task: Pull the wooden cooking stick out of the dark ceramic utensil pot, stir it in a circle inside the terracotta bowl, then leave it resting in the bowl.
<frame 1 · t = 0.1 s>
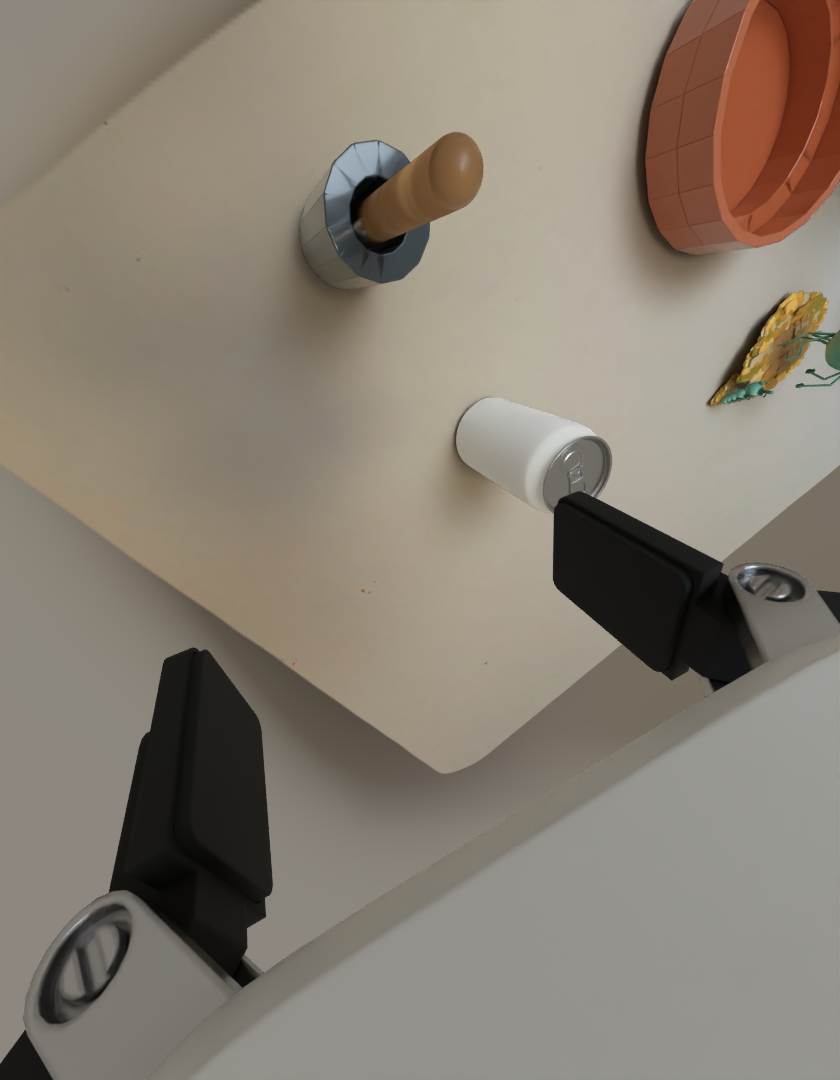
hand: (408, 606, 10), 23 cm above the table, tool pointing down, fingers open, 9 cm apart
insect on leaf figurine: (765, 345, 45), on the table
can: (484, 432, 36), on the table
bowl: (718, 126, 31), on the table
stick: (344, 238, 24), point 1 cm above the table, touching utensil pot
utensil pot: (341, 240, 25), on the table
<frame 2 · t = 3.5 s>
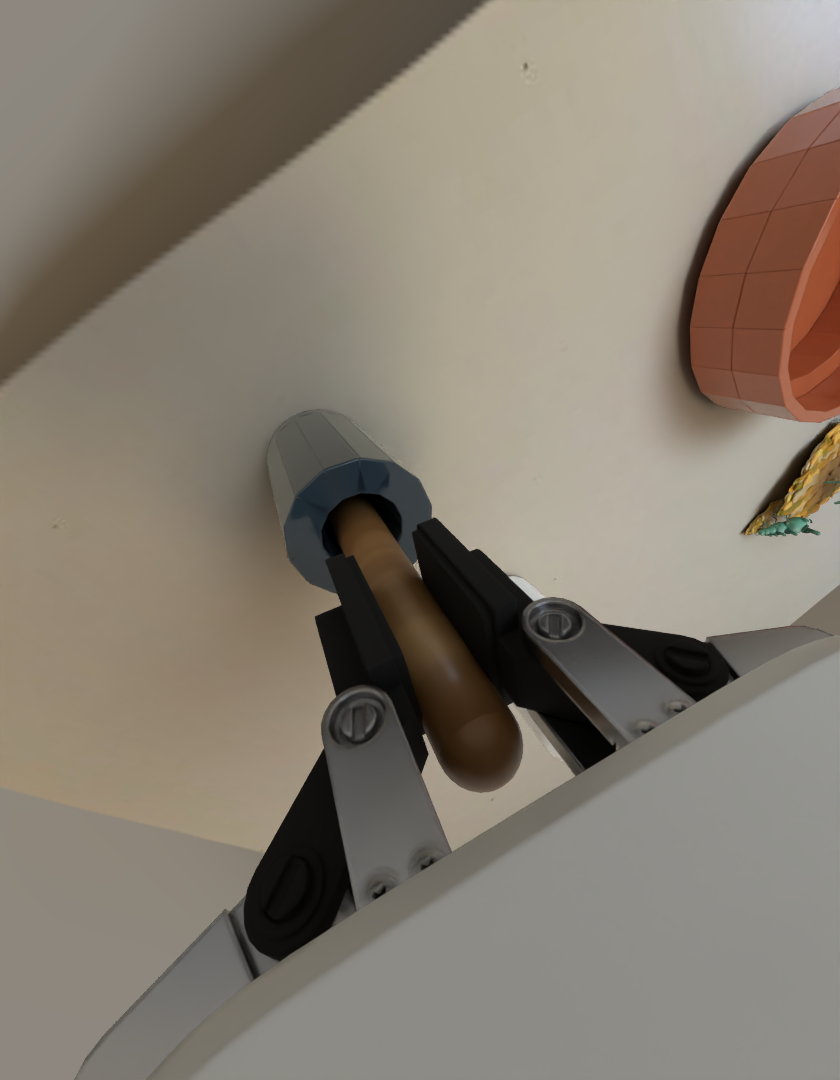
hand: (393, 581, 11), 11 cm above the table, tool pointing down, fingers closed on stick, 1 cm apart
insect on leaf figurine: (806, 468, 40), on the table
can: (493, 606, 31), on the table
bowl: (774, 275, 26), on the table
stick: (323, 466, 19), point 1 cm above the table, touching gripper
utensil pot: (321, 461, 20), on the table
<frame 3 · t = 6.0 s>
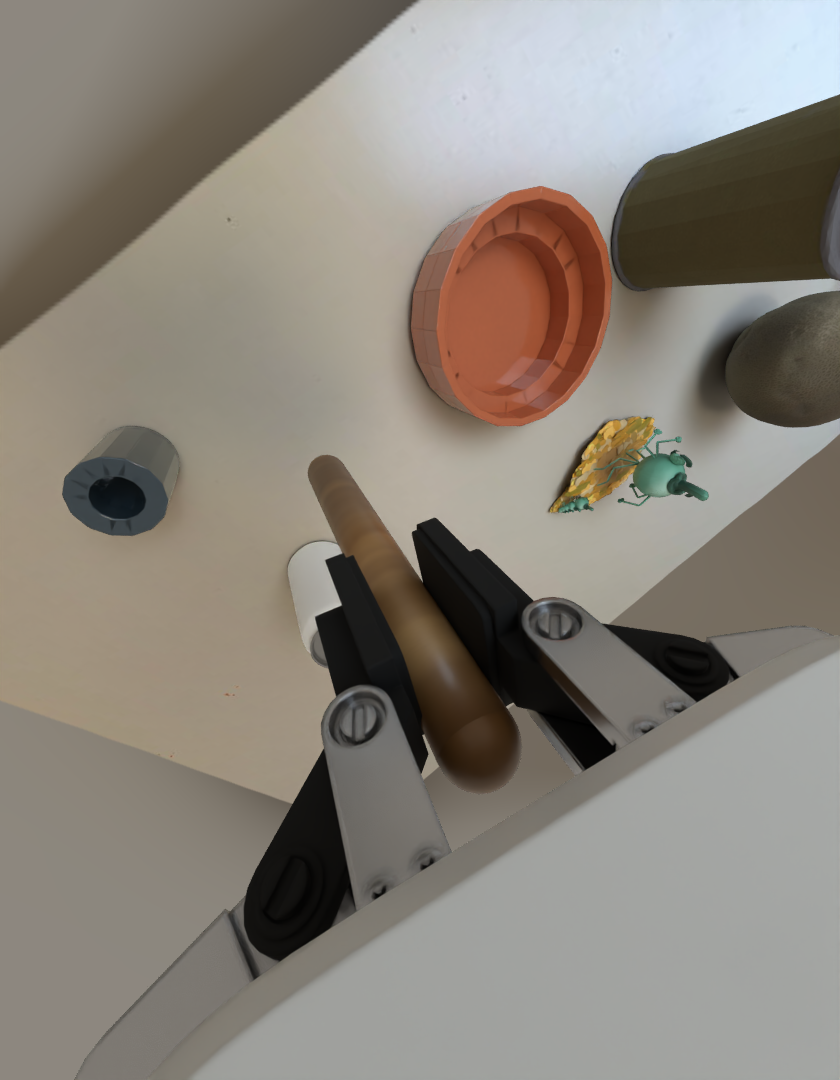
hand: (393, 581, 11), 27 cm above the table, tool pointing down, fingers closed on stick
insect on leaf figurine: (597, 459, 50), on the table
canister: (653, 226, 38), on the table
can: (318, 565, 41), on the table
bowl: (490, 321, 36), on the table
stick: (323, 466, 19), point 17 cm above the table, touching gripper
cantaloupe: (730, 356, 51), on the table
utensil pot: (141, 459, 31), on the table
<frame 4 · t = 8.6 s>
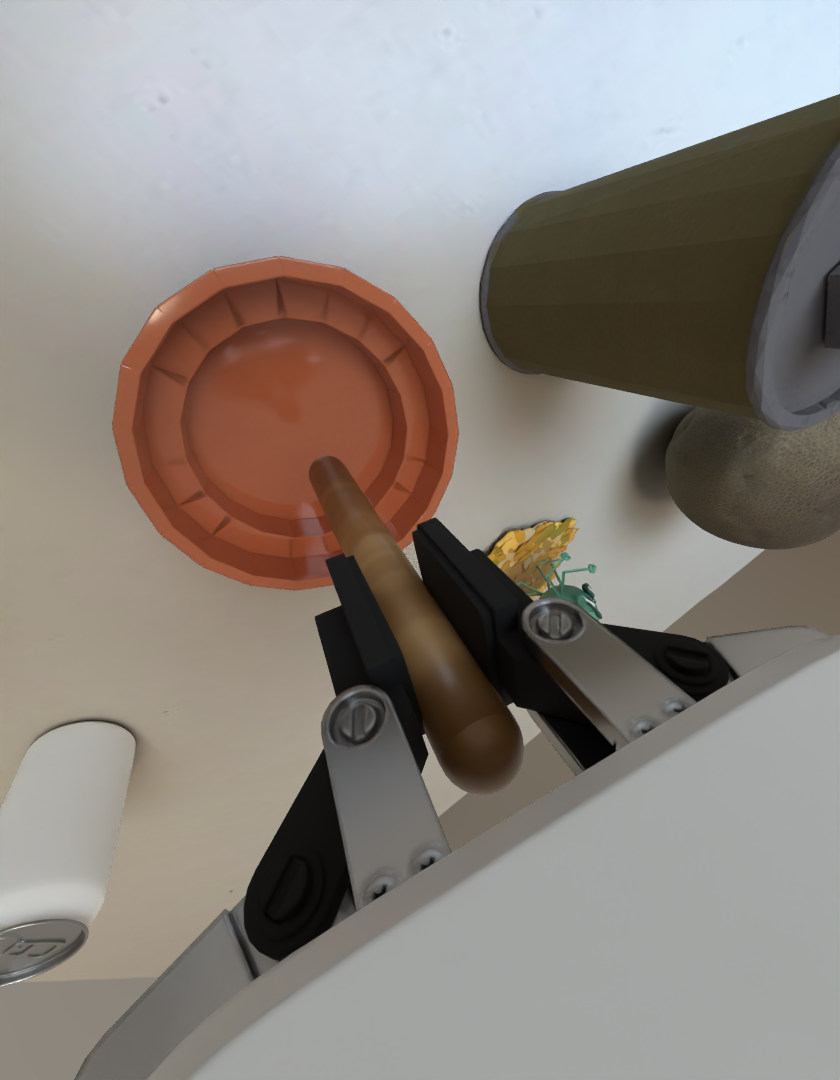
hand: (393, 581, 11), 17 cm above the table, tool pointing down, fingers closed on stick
insect on leaf figurine: (502, 570, 39), on the table
canister: (545, 289, 27), on the table
can: (85, 745, 30), on the table
bowl: (297, 427, 25), on the table
stick: (324, 467, 19), point 7 cm above the table, touching gripper
cantaloupe: (674, 439, 40), on the table
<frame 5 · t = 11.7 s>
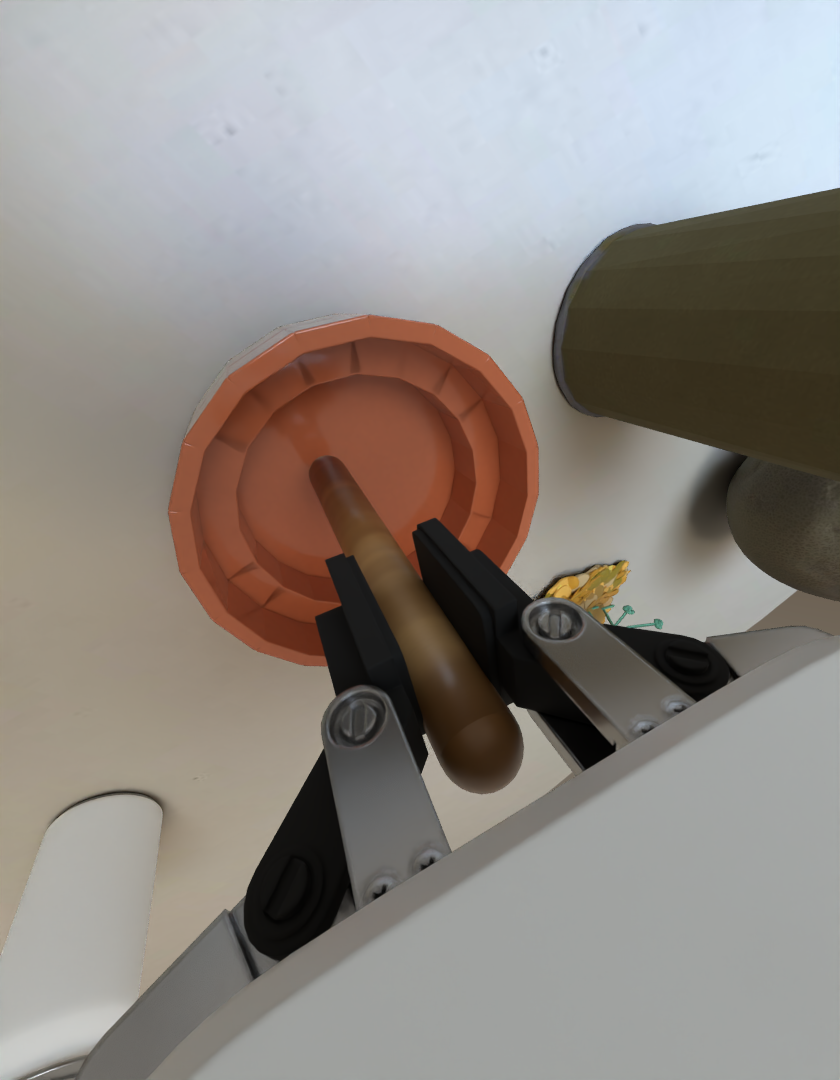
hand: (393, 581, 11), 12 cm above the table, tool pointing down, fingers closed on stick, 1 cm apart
insect on leaf figurine: (550, 615, 36), on the table
canister: (620, 327, 25), on the table
can: (109, 817, 27), on the table
bowl: (353, 481, 22), on the table
stick: (324, 467, 19), point 2 cm above the table, touching gripper
cantaloupe: (733, 476, 37), on the table
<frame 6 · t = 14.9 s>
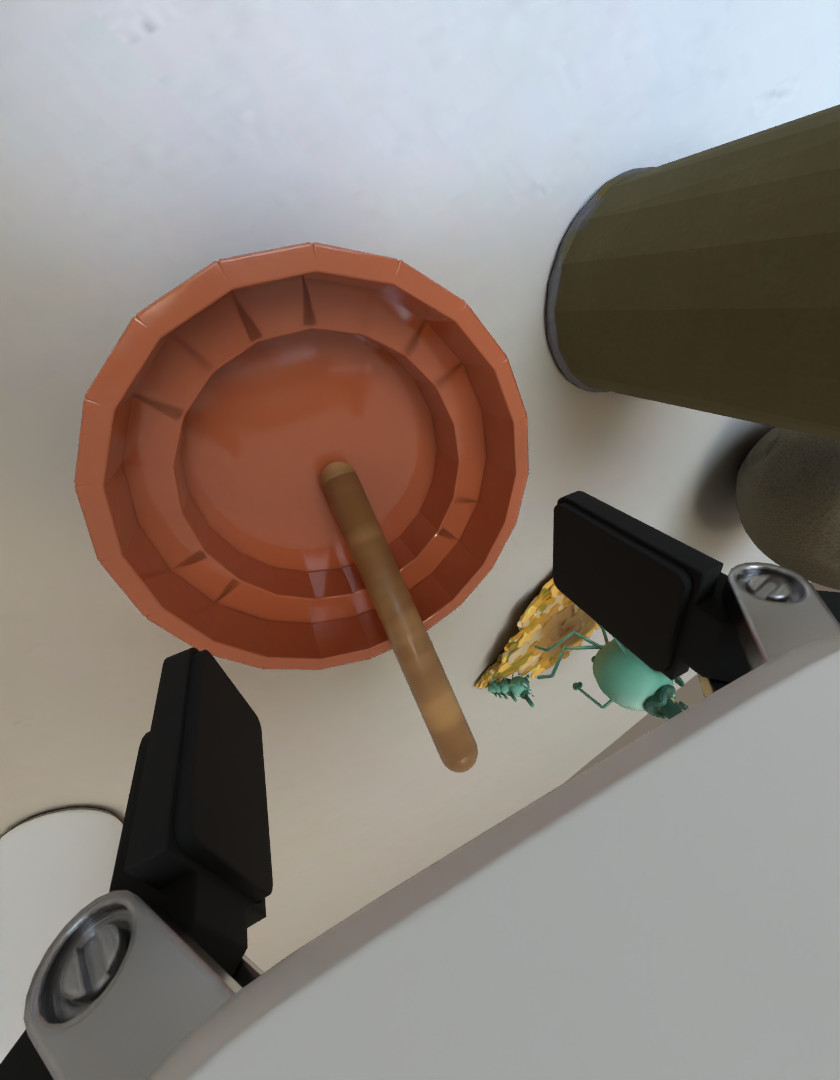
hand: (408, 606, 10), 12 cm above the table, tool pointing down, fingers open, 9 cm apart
insect on leaf figurine: (546, 612, 34), on the table
canister: (621, 291, 22), on the table
can: (64, 834, 25), on the table
bowl: (321, 461, 20), on the table
stick: (332, 463, 19), point 1 cm above the table, tilted 52°, touching bowl
cantaloupe: (742, 462, 35), on the table
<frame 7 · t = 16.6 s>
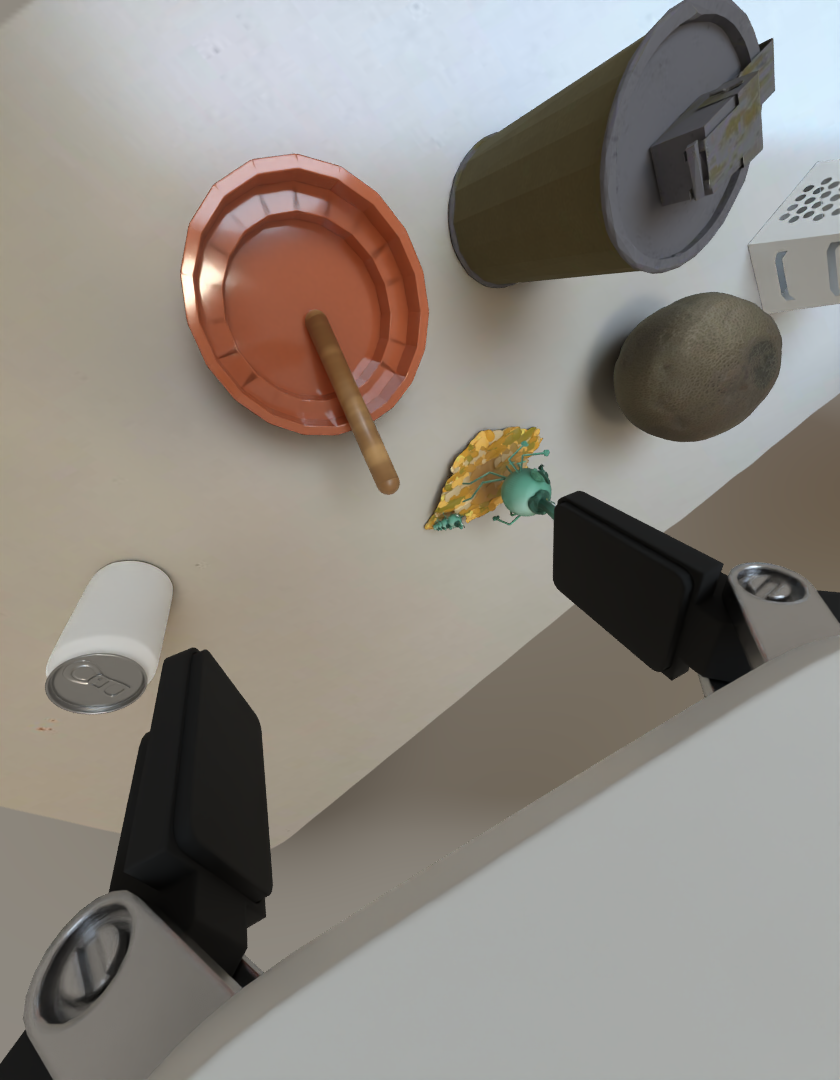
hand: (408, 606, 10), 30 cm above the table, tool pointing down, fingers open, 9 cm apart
insect on leaf figurine: (477, 472, 46), on the table
canister: (502, 215, 34), on the table
can: (133, 586, 37), on the table
grater: (786, 244, 48), on the table
bowl: (306, 315, 32), on the table
stick: (312, 312, 31), point 1 cm above the table, tilted 52°, touching bowl
cantaloupe: (624, 363, 47), on the table
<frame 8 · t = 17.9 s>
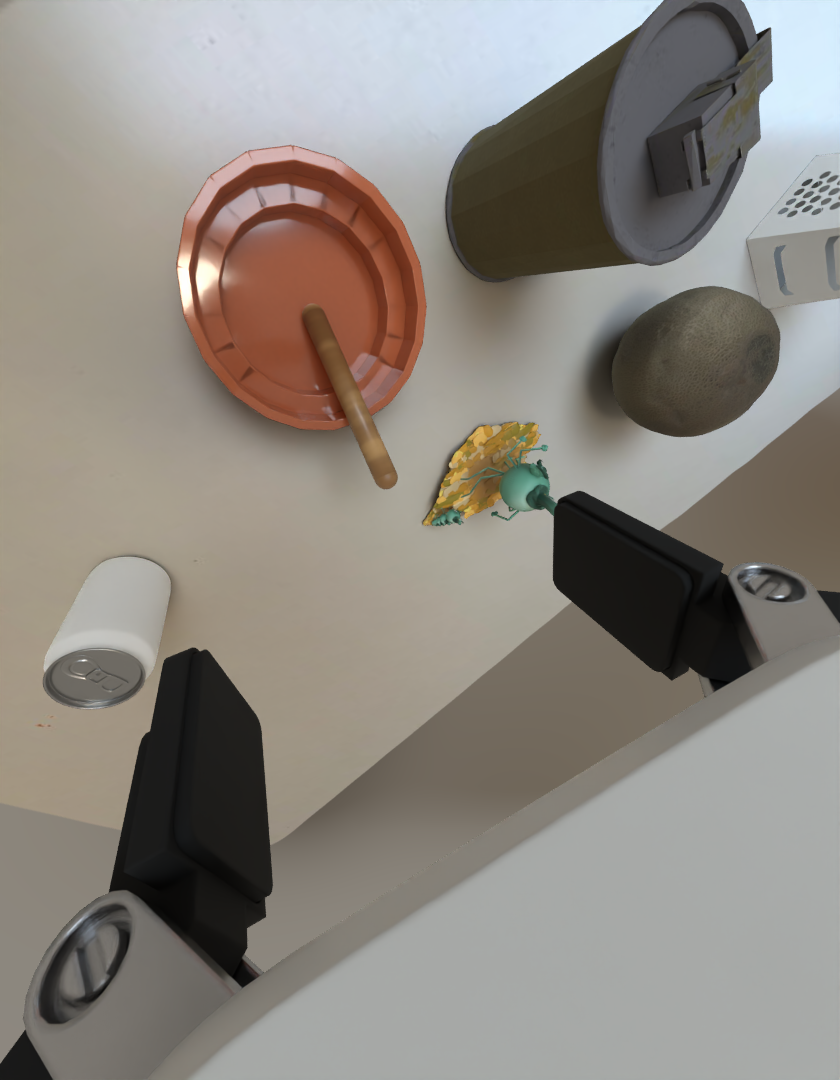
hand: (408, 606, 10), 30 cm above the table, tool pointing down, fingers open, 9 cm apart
insect on leaf figurine: (475, 467, 46), on the table
canister: (499, 209, 34), on the table
can: (131, 582, 37), on the table
grater: (785, 239, 48), on the table
bowl: (303, 310, 32), on the table
stick: (309, 306, 31), point 1 cm above the table, tilted 52°, touching bowl
cantaloupe: (623, 358, 47), on the table
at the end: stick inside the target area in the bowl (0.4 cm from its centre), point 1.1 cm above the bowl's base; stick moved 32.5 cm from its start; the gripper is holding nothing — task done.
